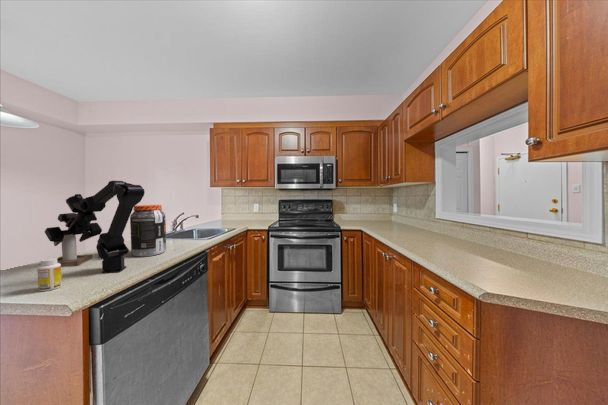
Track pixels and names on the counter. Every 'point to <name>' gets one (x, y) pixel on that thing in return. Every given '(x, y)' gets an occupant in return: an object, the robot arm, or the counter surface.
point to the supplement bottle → (49, 274)
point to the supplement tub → (148, 230)
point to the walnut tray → (76, 262)
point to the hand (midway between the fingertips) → (67, 243)
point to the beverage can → (69, 248)
